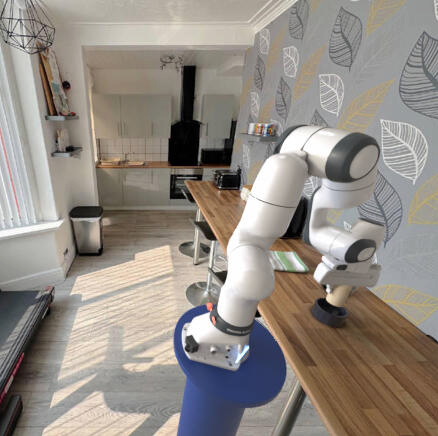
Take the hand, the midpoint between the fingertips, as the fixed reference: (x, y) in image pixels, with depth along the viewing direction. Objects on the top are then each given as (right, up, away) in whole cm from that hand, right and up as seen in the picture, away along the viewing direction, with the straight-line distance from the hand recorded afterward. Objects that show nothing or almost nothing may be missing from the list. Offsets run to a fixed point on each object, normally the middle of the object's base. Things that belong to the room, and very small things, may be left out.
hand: (338, 293), depth 88 cm
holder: (-1, -11, +5) cm, 12 cm away
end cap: (+14, -5, +20) cm, 25 cm away
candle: (0, -4, +2) cm, 4 cm away
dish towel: (-1, +4, +39) cm, 39 cm away
